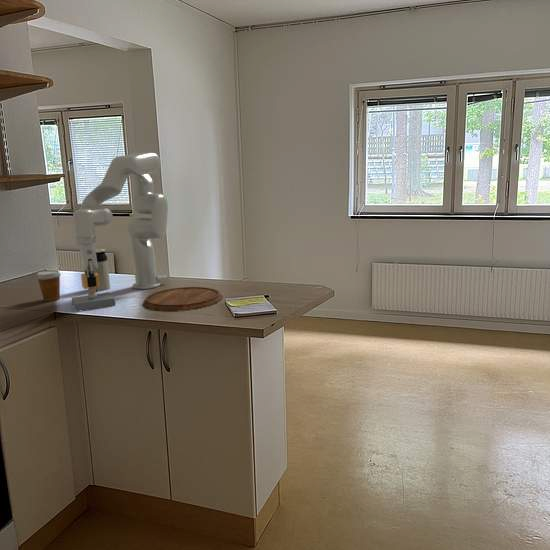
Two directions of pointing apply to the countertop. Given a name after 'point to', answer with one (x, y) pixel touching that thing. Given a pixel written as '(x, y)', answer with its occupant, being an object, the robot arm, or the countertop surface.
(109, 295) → the block
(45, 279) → the disposable coffee cup
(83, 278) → the tan cardboard carton
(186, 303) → the cutting board
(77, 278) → the countertop surface
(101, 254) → the travel mug
